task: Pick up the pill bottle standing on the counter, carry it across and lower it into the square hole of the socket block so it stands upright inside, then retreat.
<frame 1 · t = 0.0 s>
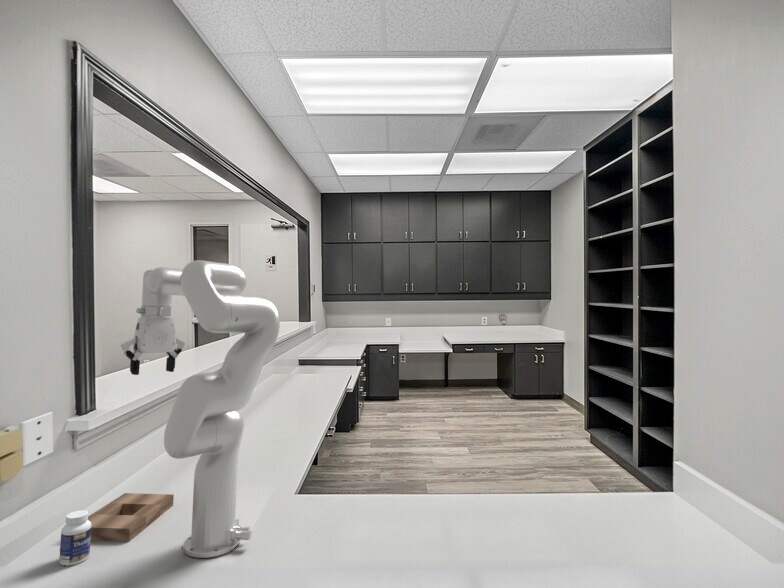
hand: (153, 372, 123), 37 cm above the countertop, tool pointing down, fingers open, 9 cm apart
pill bottle: (74, 560, 94), on the countertop
socket block: (126, 521, 112), on the countertop
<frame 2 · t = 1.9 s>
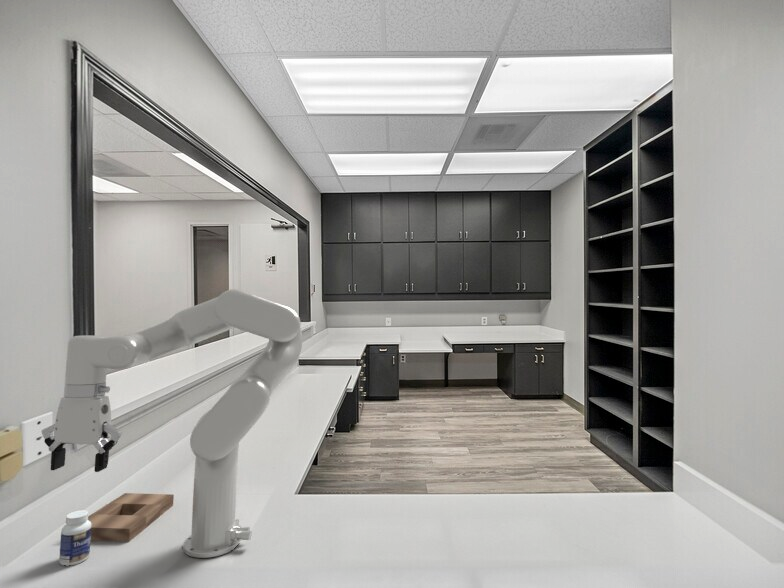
hand: (79, 469, 95), 19 cm above the countertop, tool pointing down, fingers open, 9 cm apart
nothing on the countertop moved.
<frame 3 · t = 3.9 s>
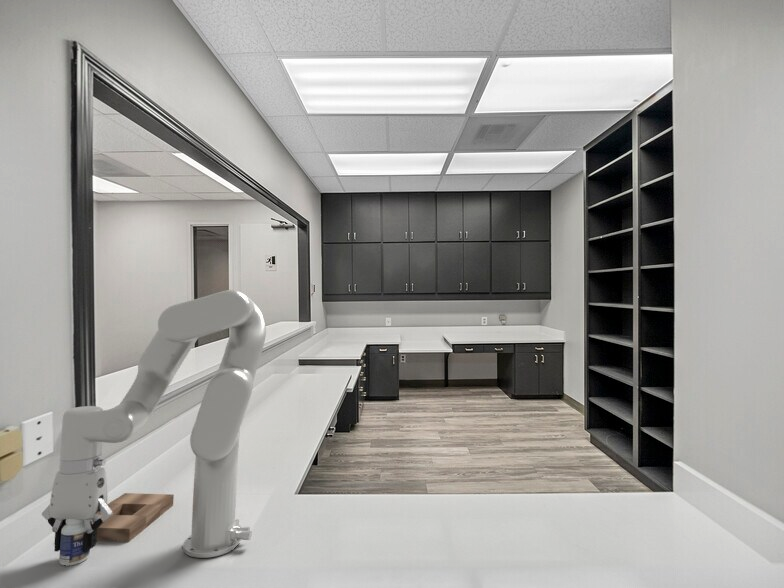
hand: (75, 547, 94), 3 cm above the countertop, tool pointing down, fingers closed on pill bottle, 5 cm apart
pill bottle: (74, 560, 94), on the countertop, touching gripper
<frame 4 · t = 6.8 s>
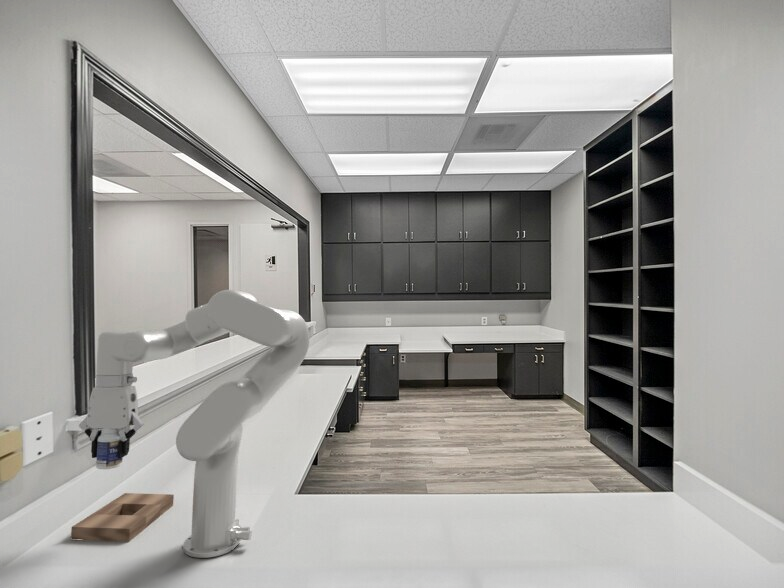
hand: (110, 455, 105), 19 cm above the countertop, tool pointing down, fingers closed on pill bottle, 5 cm apart
pill bottle: (109, 467, 105), point 17 cm above the countertop, touching gripper
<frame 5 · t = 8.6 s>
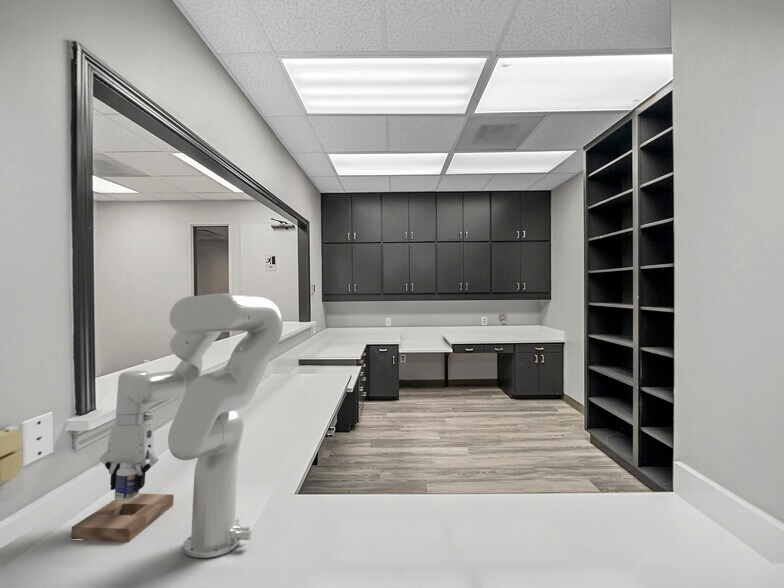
hand: (127, 487, 113), 8 cm above the countertop, tool pointing down, fingers closed on pill bottle, 5 cm apart
pill bottle: (126, 498, 113), point 6 cm above the countertop, touching gripper
when the fingers open (4 cm above the countertop, at t = 9.8 s): pill bottle drops 1 cm, resting in socket block.
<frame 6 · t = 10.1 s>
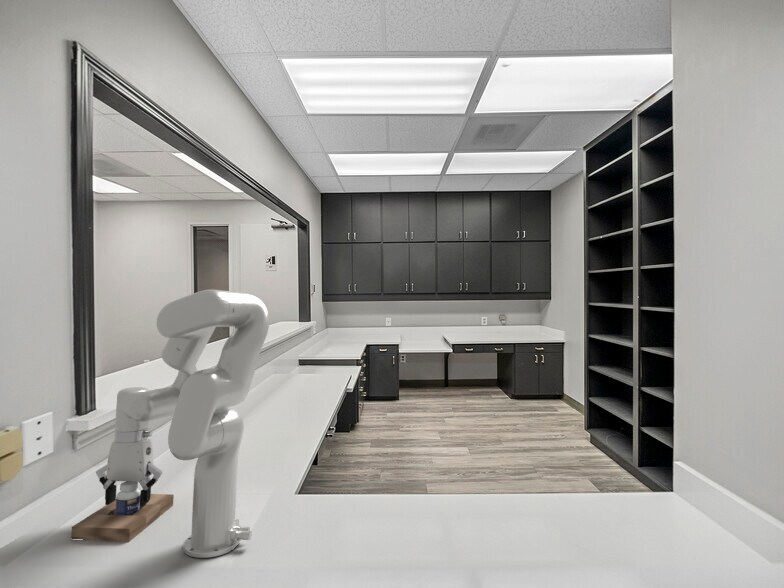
hand: (127, 503, 112), 5 cm above the countertop, tool pointing down, fingers open, 8 cm apart
pill bottle: (127, 522, 112), resting in socket block
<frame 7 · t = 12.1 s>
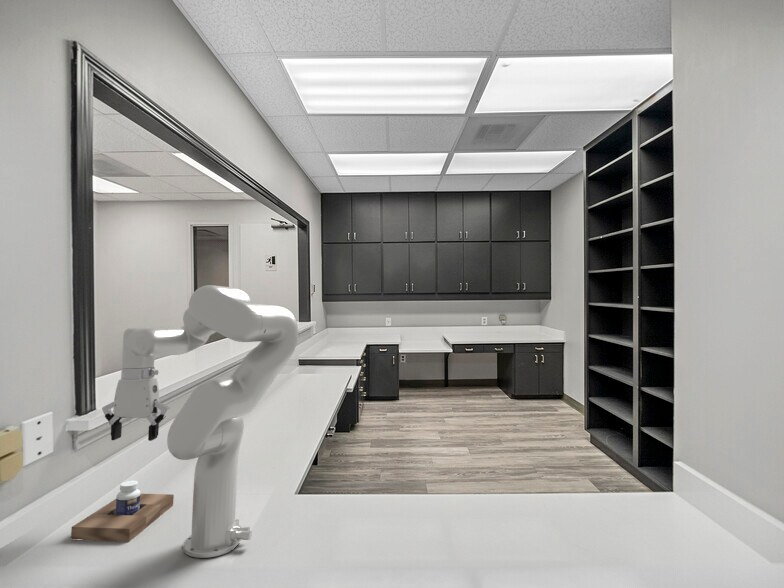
hand: (134, 439, 114), 21 cm above the countertop, tool pointing down, fingers open, 9 cm apart
nothing on the countertop moved.
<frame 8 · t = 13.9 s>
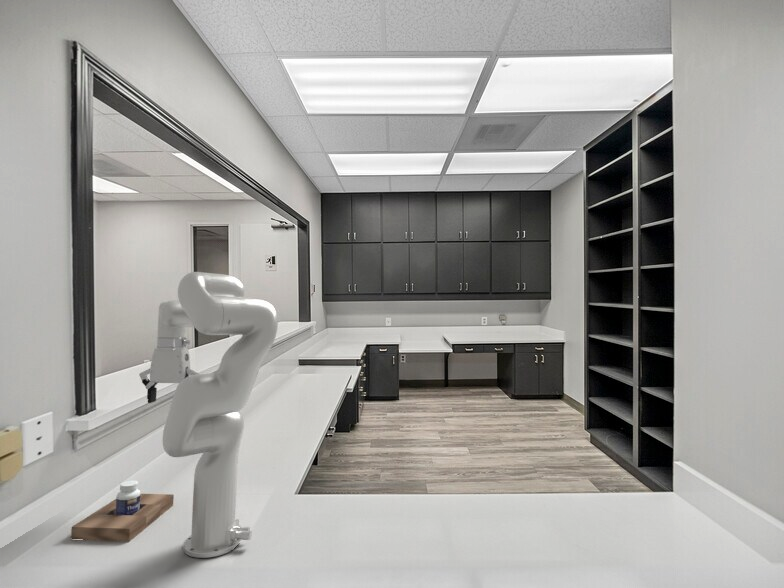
hand: (168, 402, 126), 28 cm above the countertop, tool pointing down, fingers open, 9 cm apart
nothing on the countertop moved.
at the end: pill bottle 0.2 cm off-centre on the socket block, point 0.0 cm above the socket block's base; pill bottle tilted 0°; the gripper is holding nothing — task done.
